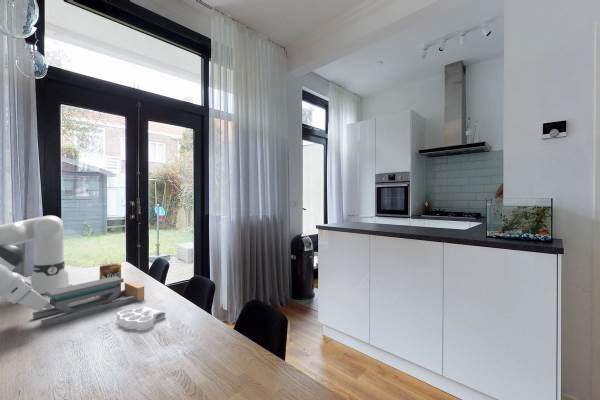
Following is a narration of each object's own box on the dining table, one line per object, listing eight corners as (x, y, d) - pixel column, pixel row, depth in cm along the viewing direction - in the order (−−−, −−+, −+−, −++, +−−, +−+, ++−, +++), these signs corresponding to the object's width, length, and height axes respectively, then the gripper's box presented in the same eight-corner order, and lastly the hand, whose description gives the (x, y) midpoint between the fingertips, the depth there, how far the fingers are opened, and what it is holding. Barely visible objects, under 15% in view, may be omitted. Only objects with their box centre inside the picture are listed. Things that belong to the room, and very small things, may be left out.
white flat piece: (170, 319, 107) (133, 336, 94) (143, 310, 116) (106, 324, 103) (170, 311, 107) (133, 326, 94) (143, 303, 116) (106, 315, 103)
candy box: (99, 297, 130) (99, 266, 130) (99, 295, 134) (99, 264, 134) (121, 294, 135) (121, 263, 135) (121, 291, 139) (121, 262, 139)
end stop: (124, 294, 134) (124, 282, 134) (131, 293, 137) (131, 281, 137) (137, 300, 126) (137, 288, 126) (144, 299, 128) (144, 286, 128)
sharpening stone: (52, 323, 103) (52, 294, 103) (45, 318, 108) (45, 291, 108) (123, 302, 124) (123, 278, 124) (115, 298, 129) (115, 276, 129)
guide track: (32, 318, 107) (32, 312, 107) (124, 294, 134) (124, 289, 134) (41, 328, 99) (41, 321, 99) (137, 300, 126) (137, 295, 126)
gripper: (0, 290, 102) (36, 308, 110) (10, 302, 90) (49, 321, 98) (17, 276, 106) (50, 294, 114) (29, 286, 94) (65, 305, 102)
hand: (50, 306), depth 106 cm, fingers closed
